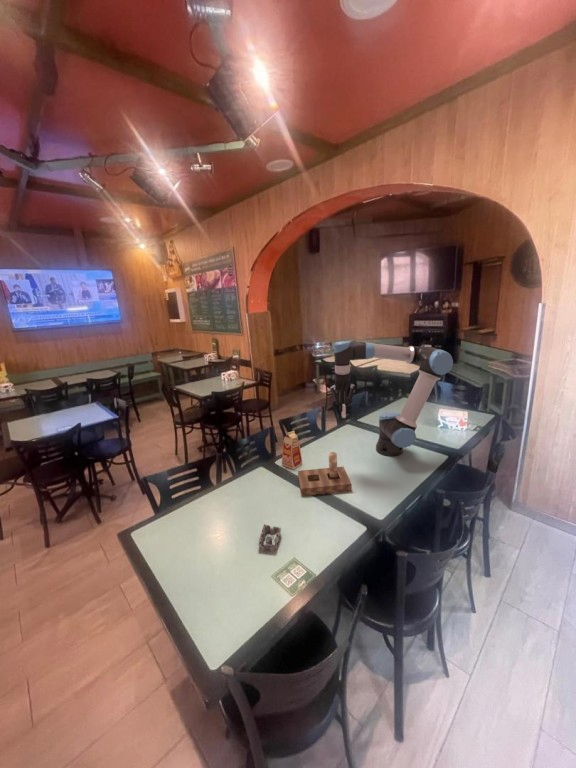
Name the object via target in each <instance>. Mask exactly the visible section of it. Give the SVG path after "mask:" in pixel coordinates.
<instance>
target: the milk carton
mask: <svg viewBox="0 0 576 768" xmlns="http://www.w3.org/2000/svg"><path fill="white" fill-rule="evenodd" d="M282 445H283V447H282V455H281V465H282V466H283V467H287V468H289V469H292V470H296V469H297V468H298V467H299V466H301V465H302V464H303V459H302V458H303V457H302V451H301V447H300V441H299V437H298V436H297V434H296V433H295V430H292V431H289V432H286V435H285V436H284V440H283V444H282Z"/></svg>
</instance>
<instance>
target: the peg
mask: <svg viewBox="0 0 576 768" xmlns="http://www.w3.org/2000/svg"><path fill="white" fill-rule="evenodd" d="M337 467H338V453H336V452H334V451H331V452H329V453H328V468H329V478H330V480H331V479H338V474H337Z"/></svg>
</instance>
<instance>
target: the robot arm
mask: <svg viewBox="0 0 576 768" xmlns="http://www.w3.org/2000/svg"><path fill="white" fill-rule="evenodd" d="M333 356H334V358H333V359H334V381H335V382H334V383H333V385H332V386H330V387H329V389H330V390H331V391H332V394H333V395H332V396H333V398H334V401H335V405H337V406H339V412H340V413H341V417H342V418H343V419H346V418H347V416H346V415H347V411H348V410H349V409H348V406H349V405H351V404H352V401H353V397H354V391H355V389H356V387H357V386H356V385H355V384H354V383H352V381H351V361H359V360H361V361H362V360H370V359H373V358H375V359H381V360H382V359H383V360H384V359H385V360H390V361H391V360H392V361H398V362H399V361H400V362H405V363H406V364H409V365H410V364H411V365H414V366H418V370H417V371H418V374H419V375H418V377H417V379H416V381H415V383H414V385H413V386H412V387H413V388H412V390H410V391H411V392H410V393H409V395H408V397H407V399H406V402H405V404H404V405H403V408H402V410H401V413H398V412H393V411H388V412H382V413H380V414H379V416H378V439H377V442H376V443H375V444H376V445H375V451H376V452H377V453H378V454H380V455H383V456H386V457H397V456H401V455H402V454H403V451H404V449H405V448H407V447H411V446H412V445H413V444H414V443H415V442H416V440H417V435H416V432H415V431H416V430H417V428H418V425H417V421H418V418H419V417H420V415H421V412H422V411H423V409H424V406H425V405H426V402H427V400H428V399H429V396H430V395H431V392H432V390H433V388H434V386H435V384H436V382H437V381H439V380H441V379H442V377H443V375H446V374H448V373H449V372H451V370H452V368H453V365H454V360H453V356H452V354H450V353H449V352H447V351H445V350H443V349H439V348H435V347H431V346H415V345H414V346H413V345H409V346H408V347H406V346H398V345H397V346H396V345H389V344H381V343H375V342H374V343H372V342H364V341H357V340H348V341H346V340H345V341H343V340H342V341H336V342H335V343H334V344H333ZM336 389H337V390H338V395H337V391H336ZM348 390H349V393H348Z"/></svg>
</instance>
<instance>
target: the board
mask: <svg viewBox="0 0 576 768" xmlns="http://www.w3.org/2000/svg"><path fill="white" fill-rule="evenodd" d="M337 474H338V479H331V480H330V478H329V467H325V468H314V469H313V468H312V469H305V470H304V469H303V470H297V477H298V478H299V479H298V483H299V490H300V496H301V497H306V496H307V497H308V496H315V495H316V494H318V495H325V493H328V494H336V493H337V494H338V493H347V492H348V493H349V492H352V490H353V489H352V488H353V487H352V482H351V479H350V477H349V475H348V473H347V470H346V468H345V466H337ZM316 496H317V495H316Z"/></svg>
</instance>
